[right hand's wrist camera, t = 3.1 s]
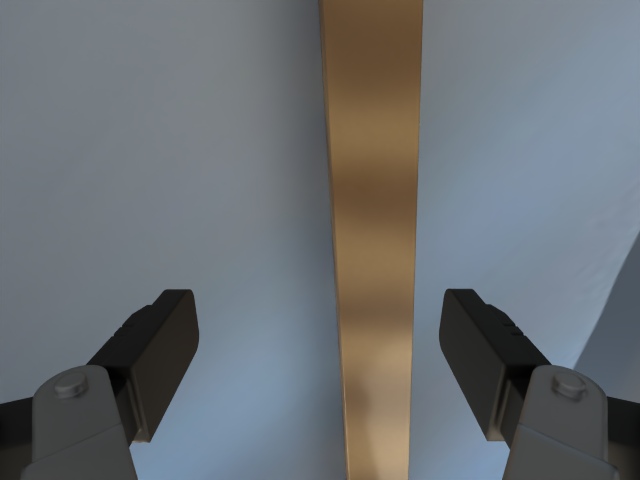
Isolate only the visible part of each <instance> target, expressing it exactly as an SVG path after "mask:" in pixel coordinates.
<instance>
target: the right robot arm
mask: <svg viewBox="0 0 640 480" xmlns="http://www.w3.org/2000/svg"><path fill="white" fill-rule="evenodd" d="M439 341H440V346H441V350H442V352H443V354H444V356H445V358H446V360H447V362H448V364H449V366H450V368H451V370H452V372H453V374H454V376H455V378H456V380H457V382H458V384H459V386H460V388H461V390H462V392H463V394H464V396H465V398H466V400H467V402H468V404H469V406H470V408H471V410H472V412H473V414H474V416H475V418H476V420H477V422H478V424H479V426H480V428H481V430H482V432H483V434H484V436H485V438H486V439H487V441H505V442H506V443H507V445H508V447H509V449H510V453H509V457H508V460H507V464H506V467H505V471H504V475H503V478H502V480H640V403H635V402H631V401H626V400H621V399H617V398H612V397H608V396H606V394H605V393H604V391H603V390H602V389H601V388H600V387H599V385H597V384H596V383H595V382H594V381H592V380H591V379H590V378H588V377H586V376H585V375H583V374H581V373H579V372H577V371H574V370H572V369H569V368H565V367H561V366H556V365H552V364H551V363H550V362H549V361H548V360H547V359H546V358H545V356H544V355H543V354H542V353H541V352H540V351H539V350H538V349H537V348H536V347H535V345H534V344H533V343H532V342H531V341H530V340H529V339H528V338H527V337H526V336H524V335H523V332H522V331H521V330H520V329H519V328H518V327H517V326H515V323H514V322H513V321H512V320H511V319H510V318H509V317H508V316H507V315H506V314H505V313H504V312H502V311H501V310H499V309H497V308H496V307H494V306H492V305H491V304H485V303H484V301H483V300H482V299H481V298H480V297H479V296H478V294H477V293H476V292H475V291H474V290H473V289H447V290H446V292H445V294H444V300H443V307H442V315H441V322H440V329H439ZM198 343H199V328H198V321H197V314H196V307H195V300H194V295H193V292H192V290H190V289H167V290H164V291H163V293H162V294H161V295H160V296H159V297H158V298H157V300H156V301H155V302H154V303H153V304H152V305H146V306H145V307H143V308H142V309H140V310H138V311H137V312H135V313H133V314H132V315H131V316H130V317H129V318H128V319H127V320H126V321H125V323H124V324H123V325H122V327H120V328H119V329H118V330H117V331H116V332H115V333H114V336H112V337H111V338H110V339H109V340H108V341H107V342H106V343H105V344H104V346H103V347H102V348H101V349H100V350H99V351H98V352H97V353H96V354H95V355H94V356H93V358H92V359H91V360H90V361H89V362H88V363H87V364H86V365H84V366H79V367H75V368H71V369H68V370H66V371H63V372H61V373H59V374H57V375H55V376H54V377H52V378H50V379H49V380H48V381H46V382H45V383H44V384H43V385H41V387H40V388H39V389H38V390H37V391H36V393H35V394H34V396H33V397H30V398H26V399H21V400H16V401H12V402H7V403H3V404H0V480H138V478H137V475H136V471H135V467H134V464H133V460H132V457H131V453H130V449H129V447H130V445H131V443H132V442H150V441H151V439H152V437H153V435H154V434H155V432H156V430H157V428H158V426H159V424H160V422H161V420H162V418H163V416H164V414H165V412H166V410H167V408H168V406H169V404H170V402H171V400H172V398H173V396H174V394H175V392H176V390H177V388H178V386H179V384H180V382H181V381H182V379H183V377H184V375H185V373H186V371H187V369H188V367H189V365H190V363H191V361H192V359H193V357H194V355H195V353H196V351H197V348H198Z"/></svg>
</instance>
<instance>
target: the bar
mask: <svg viewBox="0 0 640 480" xmlns="http://www.w3.org/2000/svg"><path fill="white" fill-rule="evenodd" d="M318 1H319V18H320V36H321V53H322V70H323V87H324V104H325V121H326V139H327V156H328V173H329V190H330V207H331V224H332V241H333V259H334V276H335V293H336V310H337V327H338V344H339V362H340V379H341V396H342V413H343V430H344V447H345V464H346V480H408V473H409V441H410V409H411V377H412V344H413V312H414V280H415V248H416V216H417V183H418V151H419V119H420V87H421V55H422V22H423V0H318Z"/></svg>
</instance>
